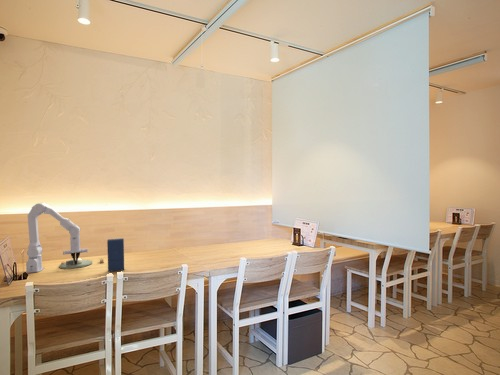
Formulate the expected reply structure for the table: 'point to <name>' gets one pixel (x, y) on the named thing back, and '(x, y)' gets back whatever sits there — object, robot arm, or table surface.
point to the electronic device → (115, 254)
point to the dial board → (72, 266)
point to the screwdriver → (101, 260)
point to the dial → (73, 261)
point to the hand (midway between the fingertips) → (75, 263)
